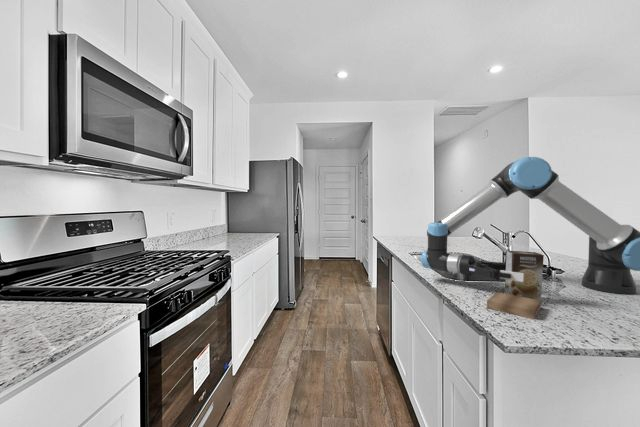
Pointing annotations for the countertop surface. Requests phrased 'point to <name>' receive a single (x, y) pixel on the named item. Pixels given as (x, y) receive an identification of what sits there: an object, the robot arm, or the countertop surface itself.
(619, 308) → the countertop surface
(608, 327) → the countertop surface
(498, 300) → the walnut board
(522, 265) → the brown food box
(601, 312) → the countertop surface
